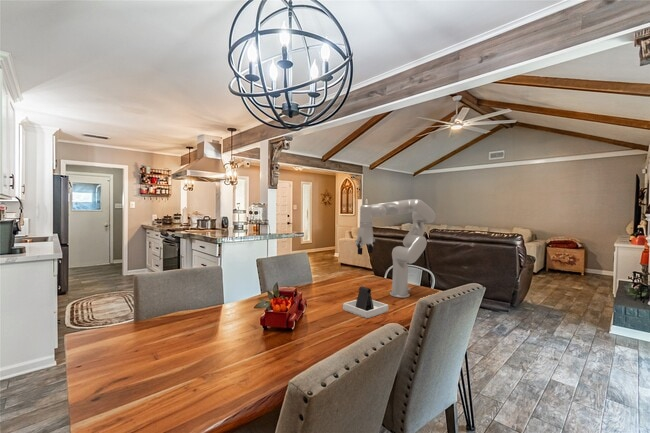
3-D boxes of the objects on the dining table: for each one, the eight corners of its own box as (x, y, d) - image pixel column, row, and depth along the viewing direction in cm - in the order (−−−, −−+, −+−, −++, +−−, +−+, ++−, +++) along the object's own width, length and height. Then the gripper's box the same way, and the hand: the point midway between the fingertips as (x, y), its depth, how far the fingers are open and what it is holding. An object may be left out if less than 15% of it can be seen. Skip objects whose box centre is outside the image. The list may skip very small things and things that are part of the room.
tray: (364, 303, 176) (364, 297, 176) (388, 311, 164) (388, 304, 164) (342, 309, 164) (343, 303, 164) (366, 318, 152) (367, 312, 152)
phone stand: (362, 312, 158) (363, 290, 158) (354, 309, 163) (355, 287, 162) (373, 309, 164) (374, 287, 164) (365, 306, 169) (366, 285, 168)
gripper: (370, 224, 190) (369, 251, 191) (351, 225, 179) (350, 254, 179) (379, 225, 185) (379, 253, 185) (361, 226, 173) (360, 255, 174)
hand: (365, 253), depth 182 cm, fingers open, 9 cm apart
